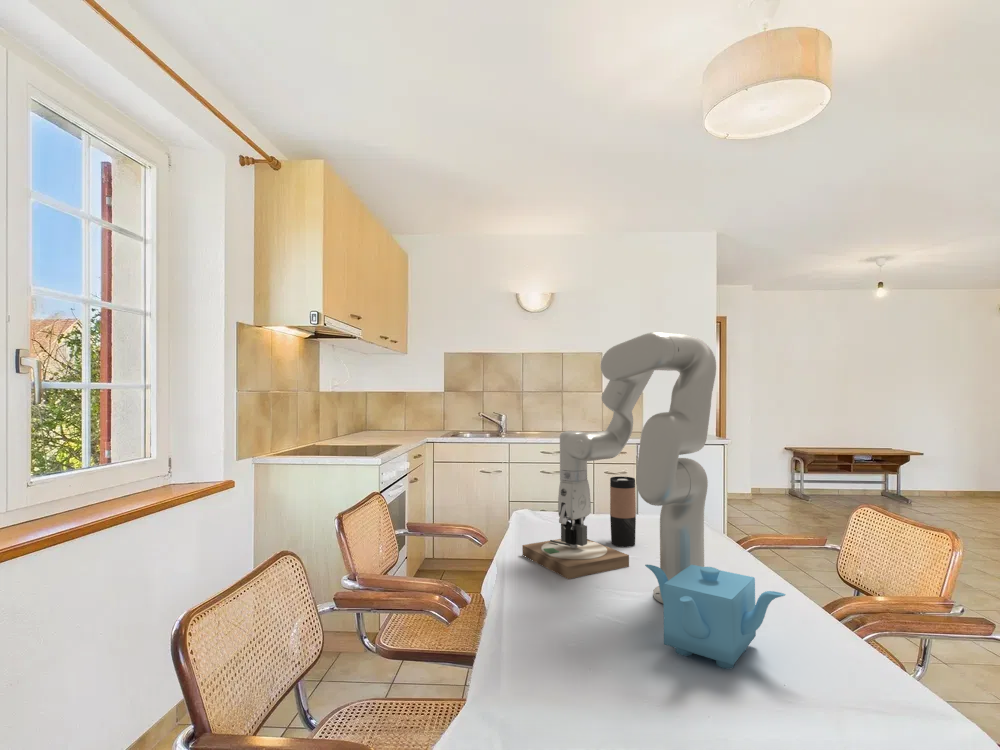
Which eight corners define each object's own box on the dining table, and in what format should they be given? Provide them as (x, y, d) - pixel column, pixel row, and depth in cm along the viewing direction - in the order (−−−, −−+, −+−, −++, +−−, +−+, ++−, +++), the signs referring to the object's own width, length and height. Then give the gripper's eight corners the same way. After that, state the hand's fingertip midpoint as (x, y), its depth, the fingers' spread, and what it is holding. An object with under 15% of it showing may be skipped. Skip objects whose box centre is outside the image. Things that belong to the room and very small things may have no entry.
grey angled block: (587, 548, 149) (587, 525, 149) (582, 550, 147) (582, 527, 147) (552, 540, 156) (552, 519, 157) (548, 542, 155) (547, 520, 155)
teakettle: (731, 626, 109) (730, 552, 109) (791, 674, 90) (789, 585, 91) (640, 631, 107) (639, 555, 107) (682, 681, 88) (681, 590, 89)
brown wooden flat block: (629, 566, 145) (628, 553, 145) (568, 579, 136) (567, 564, 136) (579, 545, 165) (578, 533, 165) (522, 555, 155) (522, 543, 155)
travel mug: (634, 540, 170) (633, 476, 170) (637, 547, 162) (637, 480, 163) (609, 540, 171) (608, 476, 171) (611, 547, 163) (611, 480, 164)
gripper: (568, 481, 142) (568, 551, 142) (600, 473, 154) (600, 538, 154) (545, 478, 147) (545, 546, 147) (578, 471, 159) (578, 534, 159)
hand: (573, 542), depth 150 cm, fingers closed
